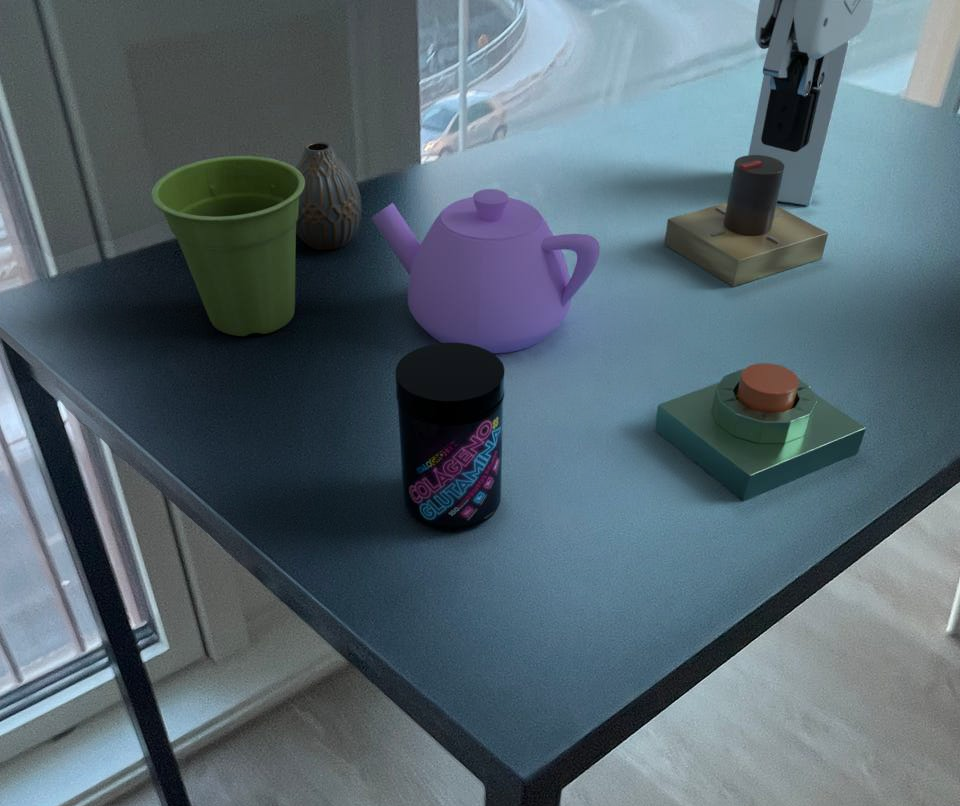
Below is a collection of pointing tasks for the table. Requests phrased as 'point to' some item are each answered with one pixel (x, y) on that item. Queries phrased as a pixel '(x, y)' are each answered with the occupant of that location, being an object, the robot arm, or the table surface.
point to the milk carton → (807, 160)
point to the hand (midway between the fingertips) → (784, 144)
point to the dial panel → (744, 244)
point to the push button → (767, 388)
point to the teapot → (488, 271)
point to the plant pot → (237, 237)
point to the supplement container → (451, 434)
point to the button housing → (757, 436)
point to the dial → (753, 194)
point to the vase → (327, 199)
